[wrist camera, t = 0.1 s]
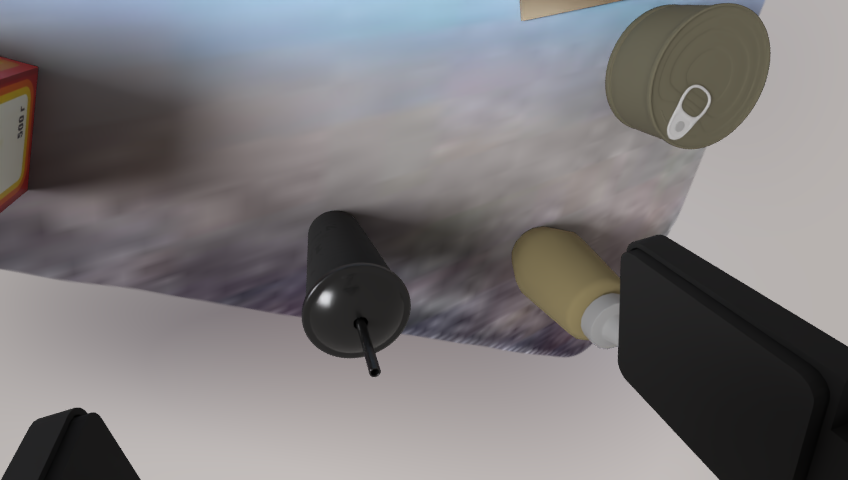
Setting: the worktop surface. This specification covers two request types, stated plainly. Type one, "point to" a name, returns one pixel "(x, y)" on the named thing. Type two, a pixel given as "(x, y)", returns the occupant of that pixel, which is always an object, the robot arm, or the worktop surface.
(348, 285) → the drinking cup
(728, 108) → the can
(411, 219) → the worktop surface
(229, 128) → the worktop surface
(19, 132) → the baking soda box
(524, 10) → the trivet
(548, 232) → the squeeze bottle
